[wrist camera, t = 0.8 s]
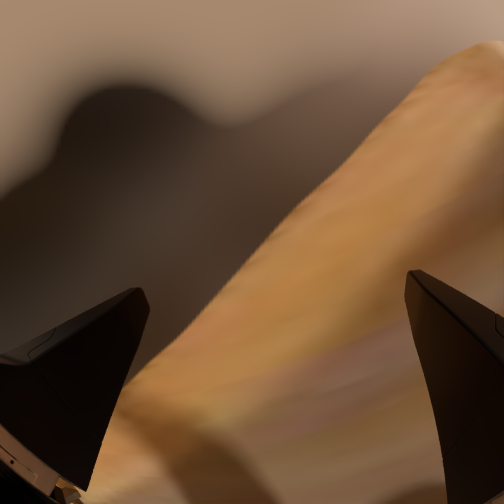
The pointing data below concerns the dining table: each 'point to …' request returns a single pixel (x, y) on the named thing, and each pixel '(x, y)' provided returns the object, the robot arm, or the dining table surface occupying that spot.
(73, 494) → the grey tall block
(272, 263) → the dining table surface
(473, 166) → the dining table surface
